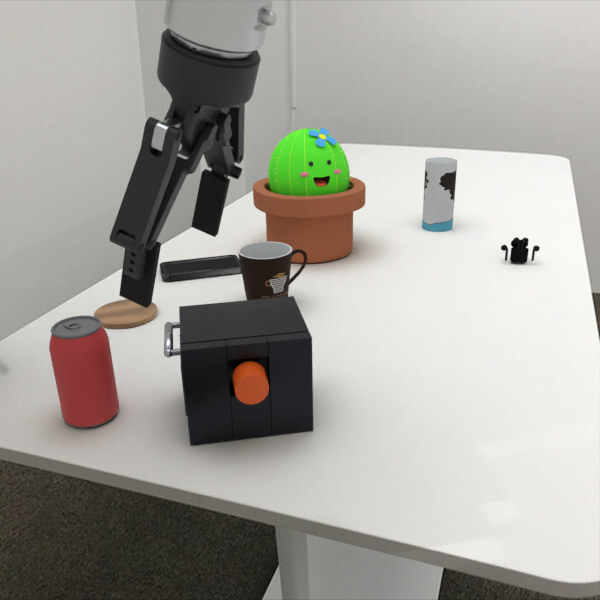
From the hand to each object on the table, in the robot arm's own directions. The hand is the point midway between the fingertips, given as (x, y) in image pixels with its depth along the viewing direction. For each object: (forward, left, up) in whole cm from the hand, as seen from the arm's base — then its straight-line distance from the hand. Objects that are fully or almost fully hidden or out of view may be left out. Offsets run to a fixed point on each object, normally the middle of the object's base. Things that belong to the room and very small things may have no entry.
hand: (172, 262), depth 61 cm
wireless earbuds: (-11, +79, -23) cm, 83 cm away
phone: (-49, +32, -23) cm, 62 cm away
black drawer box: (-4, +10, -23) cm, 25 cm away
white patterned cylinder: (-36, +86, -23) cm, 96 cm away
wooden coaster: (-40, +12, -23) cm, 47 cm away
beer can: (-16, -5, -23) cm, 28 cm away
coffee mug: (-26, +32, -23) cm, 47 cm away
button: (+3, +6, -16) cm, 18 cm away
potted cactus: (-44, +55, -23) cm, 74 cm away
